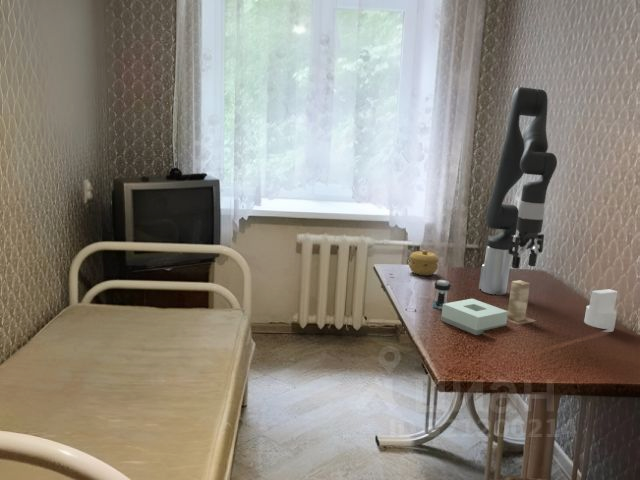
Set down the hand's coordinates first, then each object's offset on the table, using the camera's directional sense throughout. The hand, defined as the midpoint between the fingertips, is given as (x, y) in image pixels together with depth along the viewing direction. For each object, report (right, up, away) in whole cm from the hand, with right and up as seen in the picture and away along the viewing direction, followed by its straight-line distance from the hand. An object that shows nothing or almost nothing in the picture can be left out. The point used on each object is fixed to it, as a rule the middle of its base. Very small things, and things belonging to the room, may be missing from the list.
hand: (523, 267), depth 190 cm
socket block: (-17, -18, -3) cm, 25 cm away
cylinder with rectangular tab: (+26, -20, +4) cm, 33 cm away
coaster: (-1, -18, +4) cm, 18 cm away
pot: (-23, -6, +56) cm, 60 cm away
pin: (-1, -17, +3) cm, 17 cm away
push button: (-24, -15, +9) cm, 30 cm away
